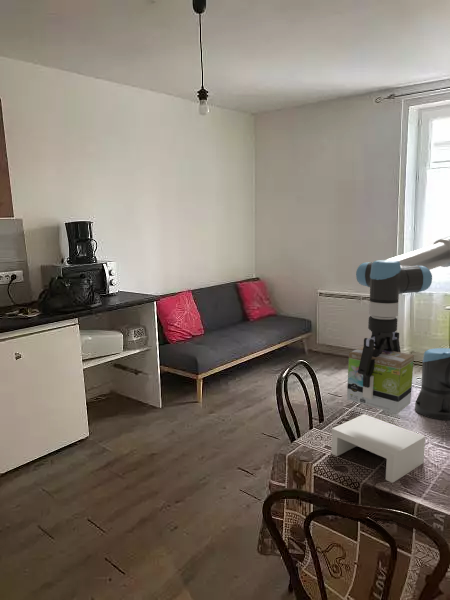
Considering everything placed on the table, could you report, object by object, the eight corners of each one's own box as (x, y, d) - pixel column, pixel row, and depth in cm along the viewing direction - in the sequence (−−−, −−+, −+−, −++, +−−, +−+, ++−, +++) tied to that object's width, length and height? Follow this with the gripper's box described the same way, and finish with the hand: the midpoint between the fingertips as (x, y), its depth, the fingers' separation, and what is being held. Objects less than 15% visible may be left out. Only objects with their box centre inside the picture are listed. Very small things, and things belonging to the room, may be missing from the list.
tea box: (345, 401, 130) (347, 351, 127) (361, 391, 137) (363, 344, 134) (397, 415, 120) (400, 361, 117) (411, 404, 127) (414, 353, 125)
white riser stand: (363, 437, 144) (364, 414, 142) (423, 462, 128) (425, 436, 127) (331, 453, 134) (331, 428, 132) (392, 482, 118) (393, 454, 117)
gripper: (393, 309, 134) (390, 380, 138) (345, 320, 120) (343, 398, 124) (417, 313, 128) (413, 387, 132) (370, 324, 114) (366, 407, 118)
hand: (379, 392), depth 128 cm, fingers closed on tea box, 11 cm apart
